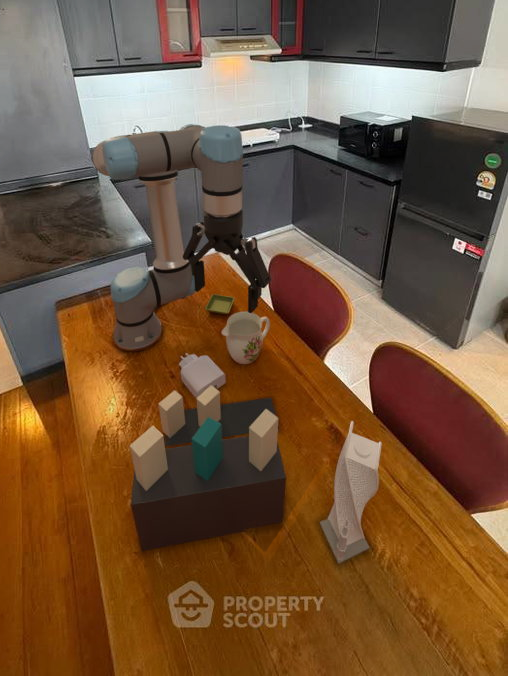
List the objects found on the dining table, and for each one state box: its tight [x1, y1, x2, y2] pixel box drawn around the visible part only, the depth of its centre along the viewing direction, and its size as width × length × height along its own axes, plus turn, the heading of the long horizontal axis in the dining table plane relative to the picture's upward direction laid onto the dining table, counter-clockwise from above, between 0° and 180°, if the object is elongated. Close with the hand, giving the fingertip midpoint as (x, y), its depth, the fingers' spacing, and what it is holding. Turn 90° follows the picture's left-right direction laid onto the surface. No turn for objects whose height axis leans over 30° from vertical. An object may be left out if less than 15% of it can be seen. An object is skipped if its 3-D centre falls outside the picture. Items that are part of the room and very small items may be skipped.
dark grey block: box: [158, 385, 280, 447], centre depth 95 cm, size 9×29×11 cm, turn 99°
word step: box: [129, 409, 287, 552], centre depth 74 cm, size 9×28×26 cm, turn 99°
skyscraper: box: [319, 420, 383, 565], centre depth 70 cm, size 8×8×28 cm
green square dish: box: [204, 293, 236, 315], centre depth 136 cm, size 9×9×2 cm
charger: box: [178, 352, 227, 399], centre depth 109 cm, size 5×9×15 cm
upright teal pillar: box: [191, 417, 223, 481], centre depth 70 cm, size 3×5×10 cm, turn 149°
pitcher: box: [221, 310, 271, 365], centre depth 114 cm, size 11×18×14 cm, turn 129°
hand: (225, 298), depth 82 cm, fingers open, 13 cm apart
